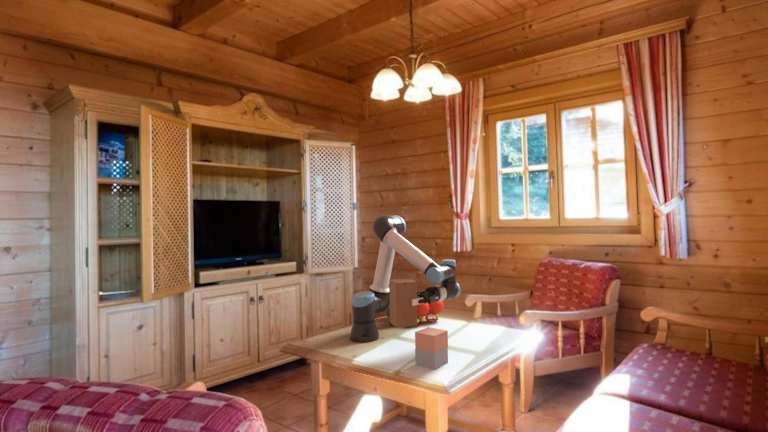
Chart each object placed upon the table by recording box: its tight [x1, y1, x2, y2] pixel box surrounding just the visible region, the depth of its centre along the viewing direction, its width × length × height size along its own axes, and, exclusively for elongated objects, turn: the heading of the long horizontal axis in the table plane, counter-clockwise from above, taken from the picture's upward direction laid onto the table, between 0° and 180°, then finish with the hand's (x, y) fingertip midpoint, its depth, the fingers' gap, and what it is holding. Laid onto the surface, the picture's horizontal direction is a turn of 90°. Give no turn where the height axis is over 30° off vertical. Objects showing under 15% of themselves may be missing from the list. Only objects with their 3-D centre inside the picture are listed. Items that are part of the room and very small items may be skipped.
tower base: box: [414, 346, 449, 370], centre depth 191 cm, size 10×10×7 cm
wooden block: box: [389, 277, 418, 328], centre depth 202 cm, size 10×10×20 cm
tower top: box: [414, 326, 449, 353], centre depth 191 cm, size 10×10×7 cm
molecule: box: [417, 300, 445, 325], centre depth 260 cm, size 25×11×16 cm, turn 125°
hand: (402, 300), depth 202 cm, fingers closed on wooden block, 12 cm apart
